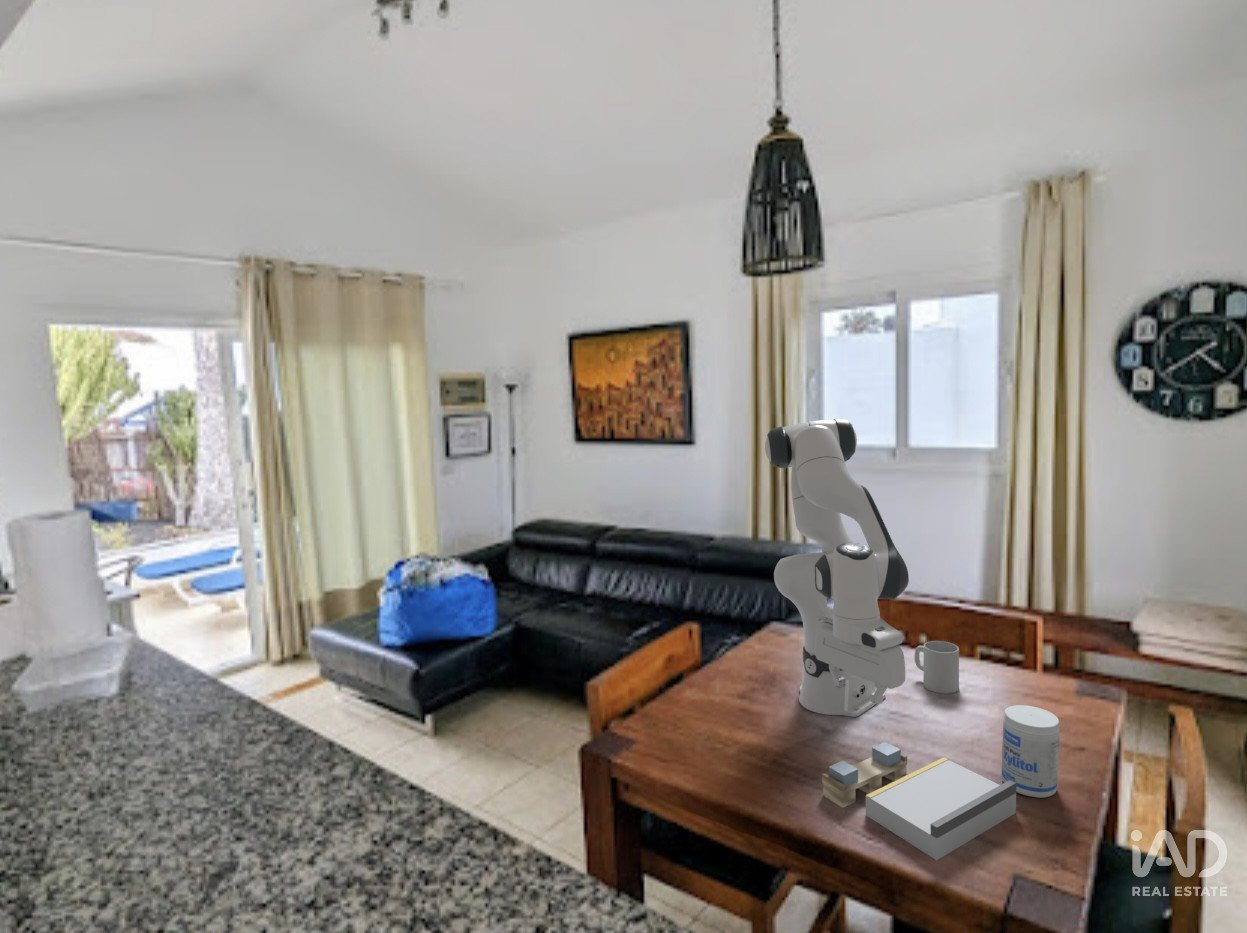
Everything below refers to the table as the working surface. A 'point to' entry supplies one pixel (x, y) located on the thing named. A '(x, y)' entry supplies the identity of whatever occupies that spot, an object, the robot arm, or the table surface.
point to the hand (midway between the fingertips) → (857, 694)
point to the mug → (939, 666)
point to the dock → (941, 806)
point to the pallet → (862, 780)
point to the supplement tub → (1030, 750)
